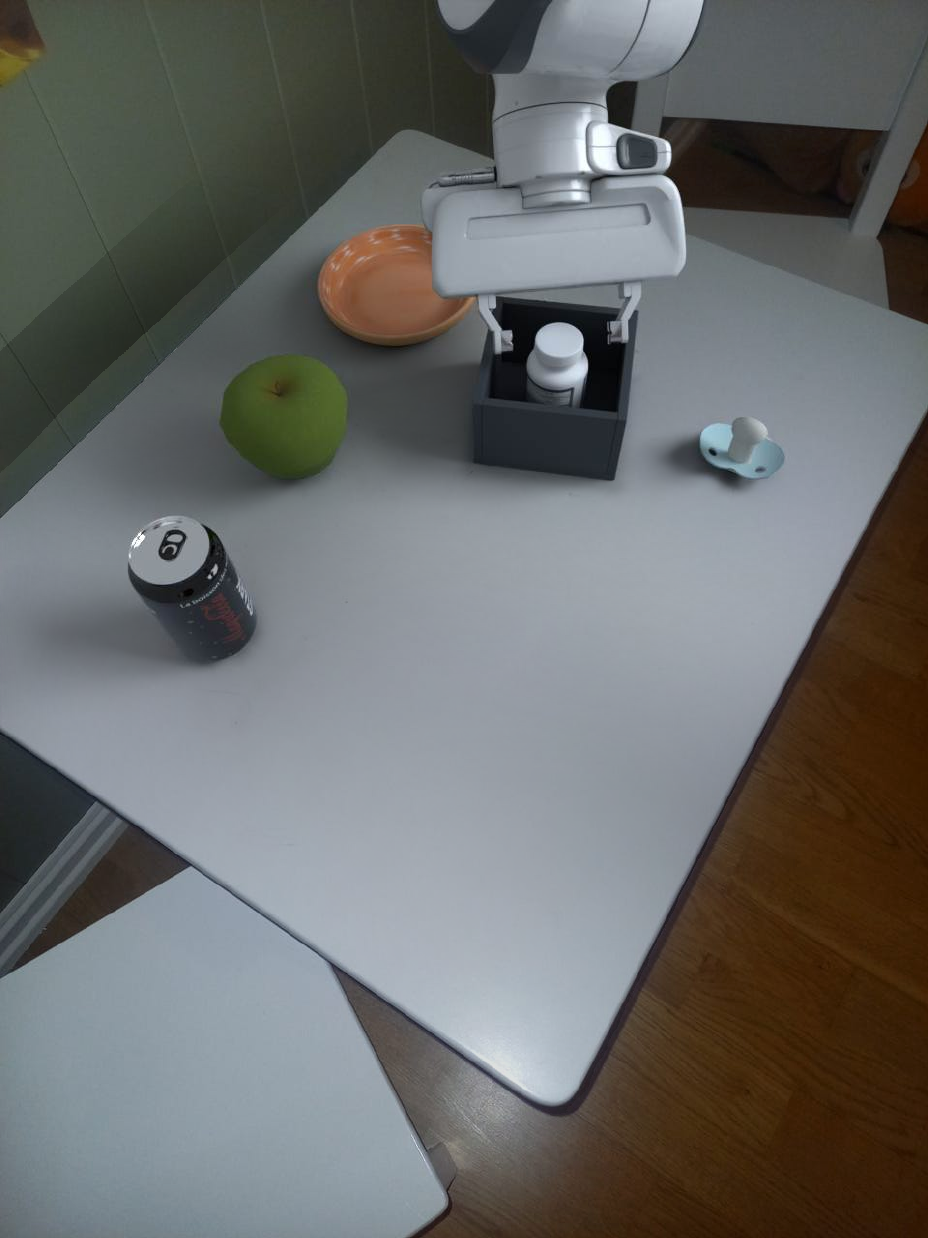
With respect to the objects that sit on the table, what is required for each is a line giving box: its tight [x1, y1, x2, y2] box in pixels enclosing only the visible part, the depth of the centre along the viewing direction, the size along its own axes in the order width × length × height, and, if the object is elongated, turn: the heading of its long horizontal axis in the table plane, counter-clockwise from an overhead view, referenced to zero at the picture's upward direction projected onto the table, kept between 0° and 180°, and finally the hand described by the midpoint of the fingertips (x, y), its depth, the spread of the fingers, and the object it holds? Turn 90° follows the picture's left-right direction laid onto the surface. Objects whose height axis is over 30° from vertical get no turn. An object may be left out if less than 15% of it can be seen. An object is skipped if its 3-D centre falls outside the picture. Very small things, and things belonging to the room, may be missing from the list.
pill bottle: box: [525, 322, 588, 409], centre depth 73 cm, size 5×5×9 cm
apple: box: [219, 353, 349, 480], centre depth 72 cm, size 11×10×10 cm
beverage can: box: [127, 515, 258, 662], centre depth 63 cm, size 7×7×12 cm
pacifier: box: [699, 416, 786, 481], centre depth 73 cm, size 7×6×6 cm
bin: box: [471, 295, 639, 481], centre depth 75 cm, size 13×13×8 cm
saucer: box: [317, 223, 477, 347], centre depth 84 cm, size 16×16×3 cm
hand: (560, 348), depth 70 cm, fingers open, 8 cm apart
